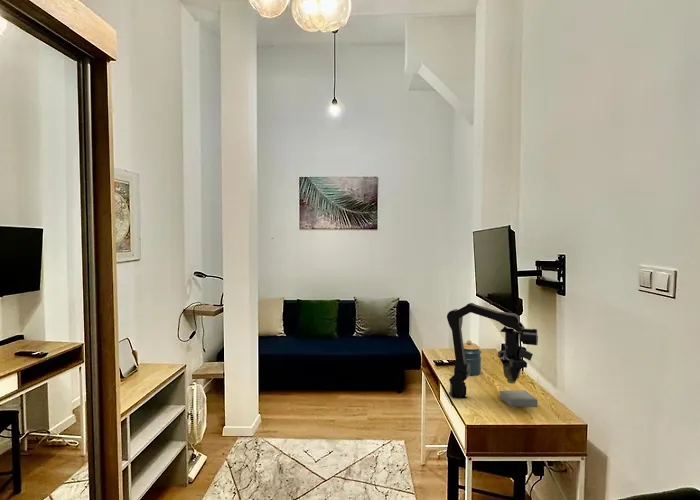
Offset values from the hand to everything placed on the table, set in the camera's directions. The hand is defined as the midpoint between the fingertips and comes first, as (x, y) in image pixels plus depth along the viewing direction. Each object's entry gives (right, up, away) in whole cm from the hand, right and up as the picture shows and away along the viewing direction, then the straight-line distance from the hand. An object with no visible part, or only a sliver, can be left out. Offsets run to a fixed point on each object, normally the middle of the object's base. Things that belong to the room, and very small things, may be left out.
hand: (511, 378), depth 195 cm
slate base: (+5, -12, +5) cm, 13 cm away
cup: (0, -2, 0) cm, 2 cm away
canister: (-6, -11, +49) cm, 51 cm away
